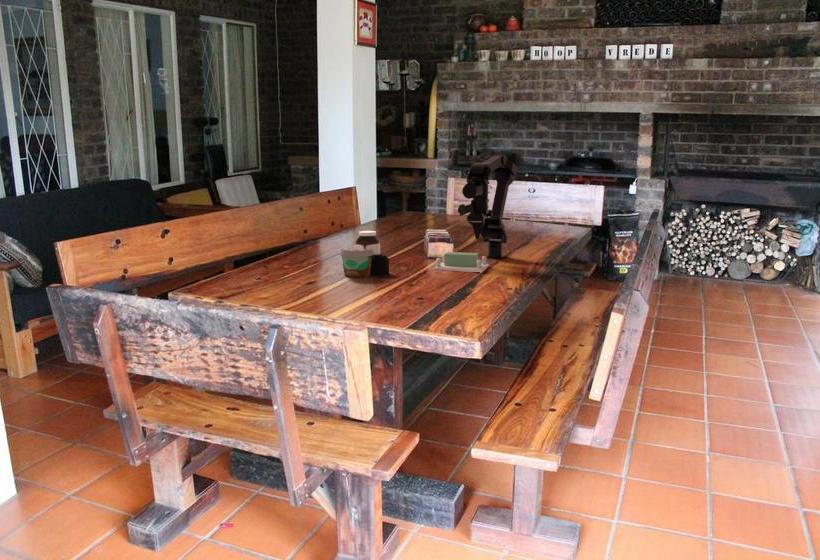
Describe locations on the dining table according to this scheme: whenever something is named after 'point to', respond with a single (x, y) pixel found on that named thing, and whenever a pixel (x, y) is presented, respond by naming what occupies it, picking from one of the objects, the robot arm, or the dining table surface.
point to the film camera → (379, 265)
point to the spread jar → (367, 242)
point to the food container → (357, 263)
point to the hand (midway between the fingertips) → (479, 237)
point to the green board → (461, 259)
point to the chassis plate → (480, 267)
